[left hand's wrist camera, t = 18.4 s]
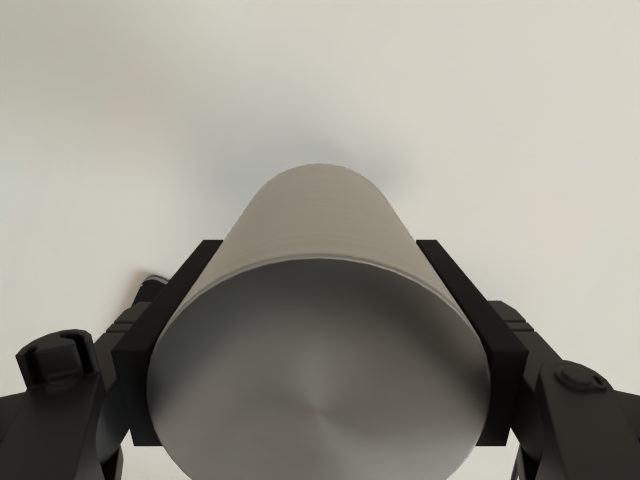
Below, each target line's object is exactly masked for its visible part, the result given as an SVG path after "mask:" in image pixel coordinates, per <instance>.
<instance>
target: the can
mask: <svg viewBox="0 0 640 480" xmlns="http://www.w3.org/2000/svg"><path fill="white" fill-rule="evenodd" d="M490 399H491V378H490V370H489V365H488V361H487V356H486V353H485V351H484V349H483V346H482V344H481V341H480V339H479V337H478V335H477V333H476V332H475V330H474V329H473V327H472V325H471V324H470V322H469V321H468V319H467V318H466V316H465V315H464V313H463V312H462V310H461V309H460V307H459V306H458V304H457V303H456V301H455V300H454V298H453V297H452V295H451V294H450V292H449V291H448V289H447V288H446V287H445V285H444V284H443V282H442V281H441V279H440V278H439V276H438V275H437V273H436V272H435V270H434V269H433V267H432V266H431V264H430V263H429V261H428V260H427V258H426V257H425V255H424V254H423V253H422V251H421V250H420V248H419V247H418V245H417V244H416V242H415V241H414V239H413V238H412V236H411V235H410V233H409V232H408V230H407V229H406V227H405V226H404V224H403V223H402V221H401V220H400V219H399V217H398V216H397V214H396V213H395V211H394V210H393V208H392V207H391V205H390V204H389V202H388V201H387V199H386V198H385V196H384V195H383V194H382V193H381V191H380V190H379V189H378V188H377V187H376V186H375V185H374V184H373V183H372V182H370V181H369V180H368V179H366V178H365V177H363V176H362V175H360V174H358V173H356V172H354V171H352V170H350V169H347V168H344V167H341V166H336V165H330V164H308V165H303V166H298V167H295V168H292V169H289V170H287V171H285V172H283V173H281V174H279V175H277V176H275V177H274V178H273V179H271V180H270V181H268V182H267V183H266V184H265V185H264V186H263V187H262V188H261V189H260V190H259V191H258V192H257V194H256V195H255V196H254V197H253V199H252V200H251V202H250V203H249V205H248V206H247V208H246V209H245V211H244V212H243V213H242V215H241V216H240V218H239V219H238V221H237V222H236V224H235V225H234V227H233V228H232V230H231V231H230V232H229V234H228V235H227V237H226V238H225V240H224V241H223V243H222V244H221V246H220V247H219V248H218V250H217V251H216V253H215V254H214V256H213V257H212V259H211V260H210V262H209V263H208V264H207V266H206V267H205V269H204V270H203V272H202V273H201V275H200V276H199V278H198V279H197V281H196V282H195V283H194V285H193V286H192V288H191V289H190V291H189V292H188V294H187V295H186V297H185V298H184V299H183V301H182V302H181V304H180V305H179V307H178V308H177V310H176V311H175V313H174V314H173V316H172V317H171V318H170V320H169V321H168V323H167V325H166V326H165V328H164V330H163V331H162V333H161V335H160V336H159V338H158V340H157V343H156V345H155V348H154V350H153V353H152V355H151V359H150V364H149V369H148V374H147V401H148V408H149V414H150V417H151V420H152V423H153V427H154V429H155V431H156V433H157V436H158V438H159V440H160V442H161V444H162V445H163V447H164V448H165V450H166V451H167V453H168V454H169V456H170V457H171V459H172V460H173V461H174V462H175V463H176V464H177V465H178V467H179V468H180V469H181V470H182V471H183V472H184V473H185V474H186V475H187V476H188V477H190V478H191V479H192V480H446V479H447V478H448V477H449V476H450V475H452V474H453V473H454V472H455V471H456V470H457V469H458V468H459V466H460V465H461V464H462V463H463V462H464V461H465V460H466V458H467V457H468V456H469V454H470V453H471V451H472V450H473V448H474V446H475V445H476V443H477V441H478V439H479V437H480V435H481V433H482V431H483V429H484V426H485V423H486V419H487V416H488V413H489V407H490Z"/></svg>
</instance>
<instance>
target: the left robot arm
mask: <svg viewBox="0 0 640 480" xmlns="http://www.w3.org/2000/svg"><path fill="white" fill-rule="evenodd" d="M222 243H223V240H203V241H202V242H201V243H200V244H199V246H198V247H197V248H196V249H195V250H194V252H193V253H192V254H191V255H190V256H189V258H188V259H187V260H186V261H185V262H184V264H183V265H182V266H181V267H180V268H179V270H178V271H177V272H176V273H175V274H174V276H173V277H172V278H171V279H170V280H169V282H168V283H167V284H166V285H165V286H164V288H163V289H162V290H161V291H160V292H159V294H158V295H157V296H156V297H155V298H154V300H153V301H152V302H138V303H137V304H135V305H133V306H132V307H130V308H128V309H127V310H125V311H124V312H123V313H122V314H121V315H120V316H119V317H118V318H117V319H116V320H115V321H114V324H112V325H111V326H110V327H109V328H108V329H107V330H106V333H103V334H102V336H101V337H100V338H99V339H98V340H97V341H96V342H95V343H94V344H93V340H92V336H91V334H89V333H88V332H87V331H84V330H78V329H72V330H62V331H58V332H55V333H51V334H48V335H45V336H43V337H41V338H38V339H36V340H34V341H32V342H31V343H29V344H28V345H26V346H25V347H23V348H22V349H21V350H20V351H19V352H18V353H17V354H16V356H15V357H16V359H17V362H18V365H19V368H20V370H21V373H22V376H23V379H24V381H25V384H26V387H27V390H26V392H23V393H18V394H14V395H9V396H4V397H0V480H121V476H122V467H123V453H122V449H121V445H120V444H121V442H122V441H123V439H124V437H125V435H126V434H127V432H128V430H129V428H130V432H131V436H132V440H133V444H134V446H163V445H162V444H161V442H160V440H159V438H158V436H157V433H156V431H155V429H154V427H153V423H152V420H151V417H150V414H149V408H148V401H147V374H148V369H149V364H150V359H151V355H152V353H153V350H154V348H155V345H156V343H157V340H158V338H159V336H160V335H161V333H162V331H163V330H164V328H165V326H166V325H167V323H168V321H169V320H170V318H171V317H172V316H173V314H174V313H175V311H176V310H177V308H178V307H179V305H180V304H181V302H182V301H183V299H184V298H185V297H186V295H187V294H188V292H189V291H190V289H191V288H192V286H193V285H194V283H195V282H196V281H197V279H198V278H199V276H200V275H201V273H202V272H203V270H204V269H205V267H206V266H207V264H208V263H209V262H210V260H211V259H212V257H213V256H214V254H215V253H216V251H217V250H218V248H219V247H220V246H221V244H222ZM416 244H417V245H418V247H419V248H420V250H421V251H422V253H423V254H424V255H425V257H426V258H427V260H428V261H429V263H430V264H431V266H432V267H433V269H434V270H435V272H436V273H437V275H438V276H439V278H440V279H441V281H442V282H443V284H444V285H445V287H446V288H447V289H448V291H449V292H450V294H451V295H452V297H453V298H454V300H455V301H456V303H457V304H458V306H459V307H460V309H461V310H462V312H463V313H464V315H465V316H466V318H467V319H468V321H469V322H470V324H471V325H472V327H473V329H474V330H475V332H476V333H477V335H478V337H479V339H480V341H481V344H482V346H483V349H484V351H485V353H486V356H487V361H488V365H489V370H490V378H491V399H490V407H489V413H488V416H487V419H486V423H485V426H484V429H483V431H482V433H481V435H480V437H479V439H478V441H477V443H476V445H475V446H506V443H507V439H508V435H509V431H510V427H511V429H512V430H513V432H514V434H515V436H516V437H517V439H518V441H519V442H520V445H519V449H518V453H517V456H516V460H515V464H514V468H513V471H512V475H511V480H517V478H518V476H519V480H640V396H639V395H634V394H630V393H625V392H620V391H616V390H614V389H613V388H612V386H611V385H610V384H609V383H608V381H607V380H606V379H605V378H603V377H602V376H601V375H599V374H598V373H597V372H595V371H594V370H592V369H589V368H587V367H585V366H583V365H581V364H578V363H574V362H571V361H567V360H562V359H561V358H560V357H559V355H558V354H557V353H556V352H555V351H554V350H553V349H552V348H551V347H550V346H549V345H548V344H547V343H546V342H545V341H544V339H543V338H542V337H541V336H540V335H539V334H538V333H537V332H534V329H533V328H532V327H531V326H530V324H529V323H526V320H525V319H524V318H523V317H522V316H521V315H520V314H519V313H518V312H517V311H516V310H515V309H514V308H512V307H510V306H509V305H507V304H505V303H504V302H502V301H487V300H486V299H485V298H484V296H483V295H482V294H481V293H480V292H479V290H478V289H477V288H476V287H475V286H474V284H473V283H472V282H471V281H470V280H469V278H468V277H467V276H466V275H465V274H464V272H463V271H462V270H461V269H460V268H459V266H458V265H457V264H456V263H455V262H454V260H453V259H452V258H451V257H450V256H449V254H448V253H447V252H446V251H445V250H444V248H443V247H442V246H441V245H440V244H439V242H438V241H437V240H416Z"/></svg>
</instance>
